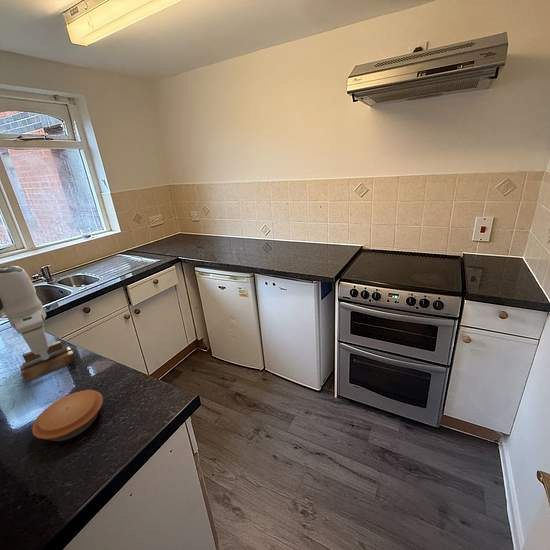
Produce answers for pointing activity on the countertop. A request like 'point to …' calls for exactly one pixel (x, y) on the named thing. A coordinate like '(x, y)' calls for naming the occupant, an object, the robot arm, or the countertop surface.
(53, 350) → the brown wooden block
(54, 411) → the pie
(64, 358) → the knife stand
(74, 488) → the countertop surface
